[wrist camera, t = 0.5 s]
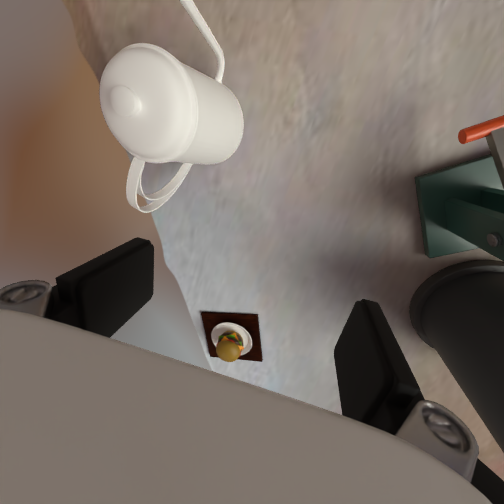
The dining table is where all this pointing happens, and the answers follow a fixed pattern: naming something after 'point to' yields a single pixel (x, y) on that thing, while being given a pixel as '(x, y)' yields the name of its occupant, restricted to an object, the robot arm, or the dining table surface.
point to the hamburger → (233, 336)
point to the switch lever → (488, 140)
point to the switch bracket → (462, 208)
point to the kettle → (468, 332)
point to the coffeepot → (169, 111)
